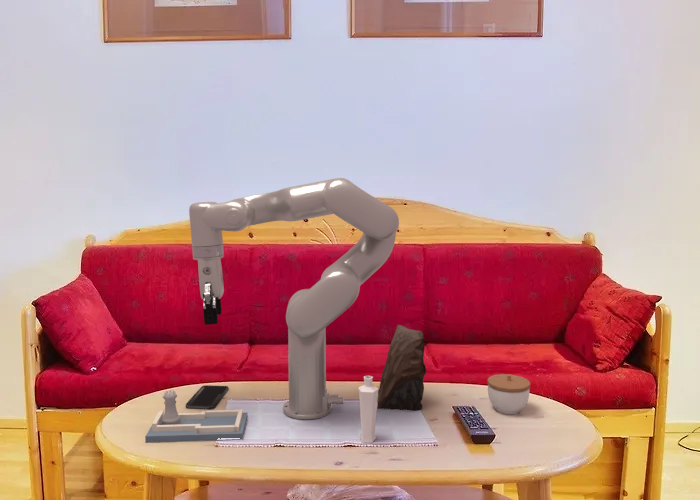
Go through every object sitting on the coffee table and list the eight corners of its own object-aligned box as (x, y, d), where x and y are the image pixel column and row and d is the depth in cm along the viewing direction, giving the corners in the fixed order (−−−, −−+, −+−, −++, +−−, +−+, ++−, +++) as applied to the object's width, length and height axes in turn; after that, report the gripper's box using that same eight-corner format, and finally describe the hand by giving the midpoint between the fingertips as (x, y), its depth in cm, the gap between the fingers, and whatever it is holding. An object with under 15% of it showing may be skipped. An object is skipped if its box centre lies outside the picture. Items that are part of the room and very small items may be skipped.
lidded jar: (526, 420, 151) (528, 384, 150) (483, 414, 155) (484, 378, 154) (531, 405, 161) (532, 371, 159) (490, 399, 165) (491, 366, 163)
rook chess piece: (184, 424, 145) (183, 392, 144) (167, 430, 142) (166, 397, 141) (174, 419, 148) (173, 387, 147) (157, 424, 145) (156, 392, 144)
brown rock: (390, 391, 170) (391, 322, 167) (434, 398, 165) (435, 327, 162) (374, 408, 158) (375, 334, 156) (421, 416, 154) (423, 339, 151)
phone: (184, 405, 158) (202, 385, 173) (184, 410, 158) (202, 388, 173) (213, 406, 157) (229, 385, 172) (213, 411, 157) (230, 389, 172)
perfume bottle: (364, 445, 137) (364, 382, 135) (355, 438, 141) (355, 376, 139) (381, 441, 139) (382, 378, 137) (372, 434, 143) (372, 373, 141)
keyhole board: (247, 418, 152) (247, 404, 152) (242, 439, 140) (242, 425, 140) (158, 420, 151) (157, 407, 150) (145, 442, 139) (144, 428, 138)
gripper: (220, 256, 142) (225, 327, 145) (226, 246, 159) (231, 310, 162) (187, 258, 141) (193, 329, 144) (197, 248, 158) (202, 312, 161)
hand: (213, 319), depth 153 cm, fingers open, 9 cm apart
